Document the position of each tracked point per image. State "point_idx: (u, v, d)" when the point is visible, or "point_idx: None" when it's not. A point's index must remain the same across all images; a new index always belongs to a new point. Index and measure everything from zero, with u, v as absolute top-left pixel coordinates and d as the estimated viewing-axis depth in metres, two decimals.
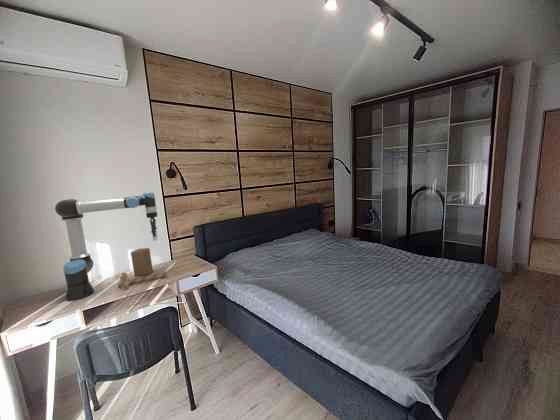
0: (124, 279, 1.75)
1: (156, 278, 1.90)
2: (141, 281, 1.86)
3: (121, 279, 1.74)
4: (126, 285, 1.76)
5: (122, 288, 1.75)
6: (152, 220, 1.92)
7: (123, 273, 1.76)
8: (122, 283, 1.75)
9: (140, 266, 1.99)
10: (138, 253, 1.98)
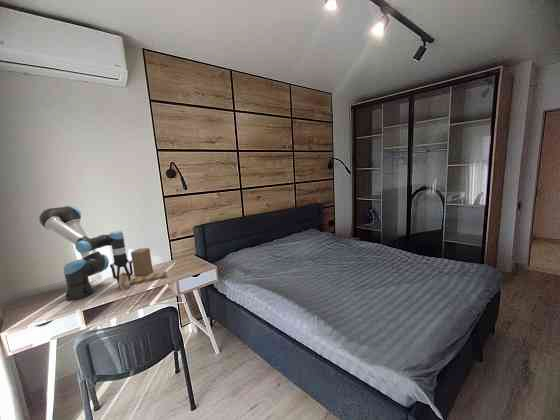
0: (124, 279, 1.75)
1: (156, 278, 1.90)
2: (141, 281, 1.86)
3: (121, 279, 1.74)
4: (126, 285, 1.76)
5: (122, 288, 1.75)
6: None
7: (123, 273, 1.76)
8: (122, 283, 1.75)
9: (140, 266, 1.99)
10: (138, 253, 1.98)
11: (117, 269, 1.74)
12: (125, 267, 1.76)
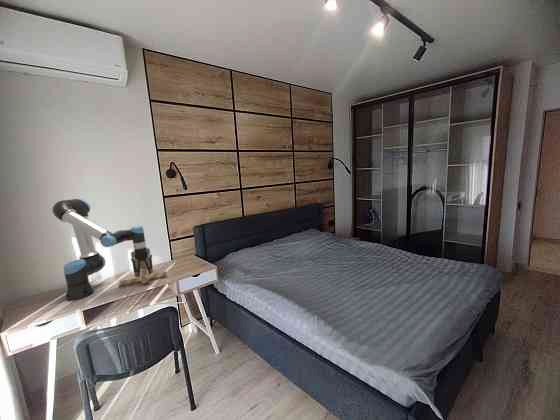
0: (144, 272, 1.80)
1: (156, 278, 1.90)
2: (141, 281, 1.86)
3: (142, 272, 1.79)
4: (146, 278, 1.81)
5: (143, 281, 1.80)
6: None
7: (143, 267, 1.81)
8: (142, 276, 1.80)
9: (140, 266, 1.99)
10: None
11: (138, 263, 1.79)
12: (145, 261, 1.81)
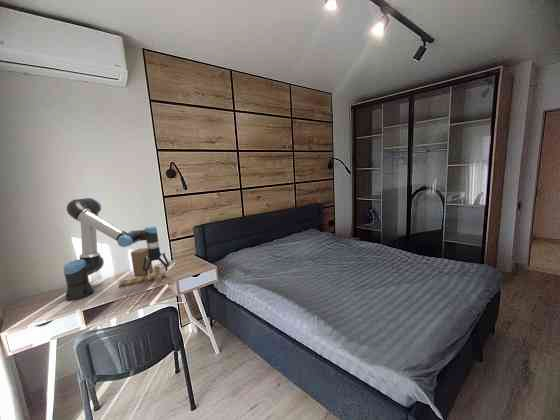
0: (157, 272, 1.84)
1: None
2: (141, 281, 1.86)
3: (155, 272, 1.83)
4: (159, 278, 1.84)
5: (156, 281, 1.84)
6: (144, 257, 1.81)
7: (156, 266, 1.85)
8: (155, 276, 1.83)
9: (140, 266, 1.99)
10: (138, 253, 1.98)
11: (149, 262, 1.82)
12: (160, 259, 1.85)
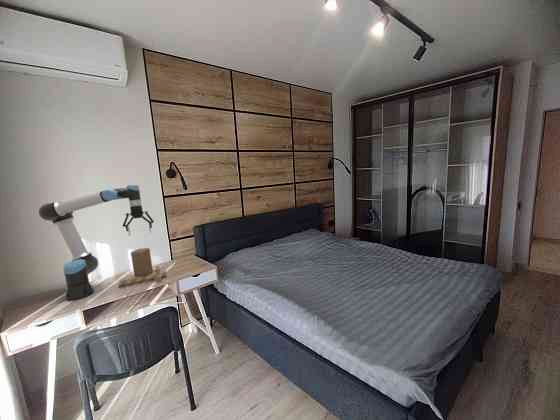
0: (157, 272, 1.84)
1: None
2: (141, 281, 1.86)
3: (155, 272, 1.83)
4: (159, 278, 1.84)
5: (156, 281, 1.84)
6: (126, 214, 1.85)
7: (156, 266, 1.85)
8: (155, 276, 1.83)
9: (140, 266, 1.99)
10: (138, 253, 1.98)
11: (130, 219, 1.85)
12: (143, 217, 1.88)
